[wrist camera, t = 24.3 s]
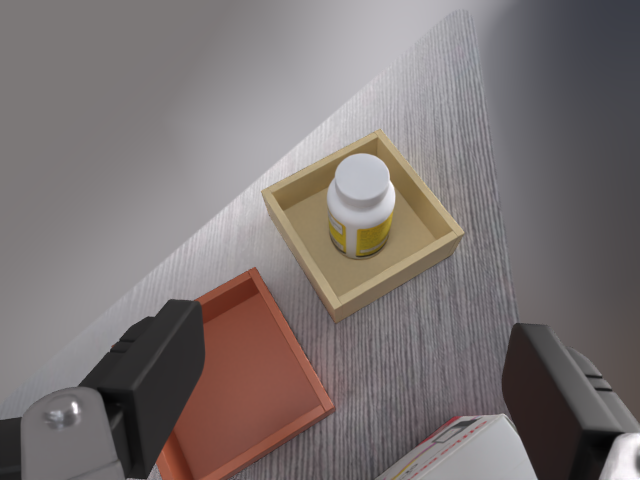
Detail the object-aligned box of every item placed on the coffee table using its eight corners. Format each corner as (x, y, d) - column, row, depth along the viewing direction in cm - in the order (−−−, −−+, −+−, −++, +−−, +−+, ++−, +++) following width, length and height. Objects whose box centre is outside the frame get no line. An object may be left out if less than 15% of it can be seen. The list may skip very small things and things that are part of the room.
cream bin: (335, 324, 39) (334, 310, 35) (268, 214, 44) (260, 190, 39) (452, 254, 41) (465, 232, 37) (377, 156, 46) (380, 128, 41)
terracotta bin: (194, 500, 34) (173, 508, 30) (136, 356, 39) (111, 345, 34) (335, 411, 36) (334, 407, 32) (264, 284, 41) (255, 266, 36)
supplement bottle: (396, 217, 42) (409, 156, 33) (377, 268, 40) (387, 219, 31) (341, 200, 43) (339, 137, 34) (320, 249, 41) (313, 196, 32)
